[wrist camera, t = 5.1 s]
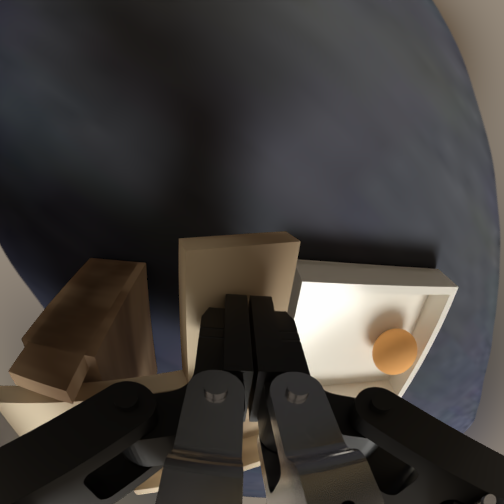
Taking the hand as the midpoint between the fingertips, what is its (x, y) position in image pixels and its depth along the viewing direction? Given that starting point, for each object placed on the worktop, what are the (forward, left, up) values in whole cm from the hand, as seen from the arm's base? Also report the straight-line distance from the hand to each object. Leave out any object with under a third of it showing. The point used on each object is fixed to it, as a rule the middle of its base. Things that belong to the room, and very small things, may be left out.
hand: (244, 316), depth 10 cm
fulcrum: (+7, -8, -8) cm, 13 cm away
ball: (+7, +10, -6) cm, 14 cm away
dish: (+7, +9, -8) cm, 14 cm away
